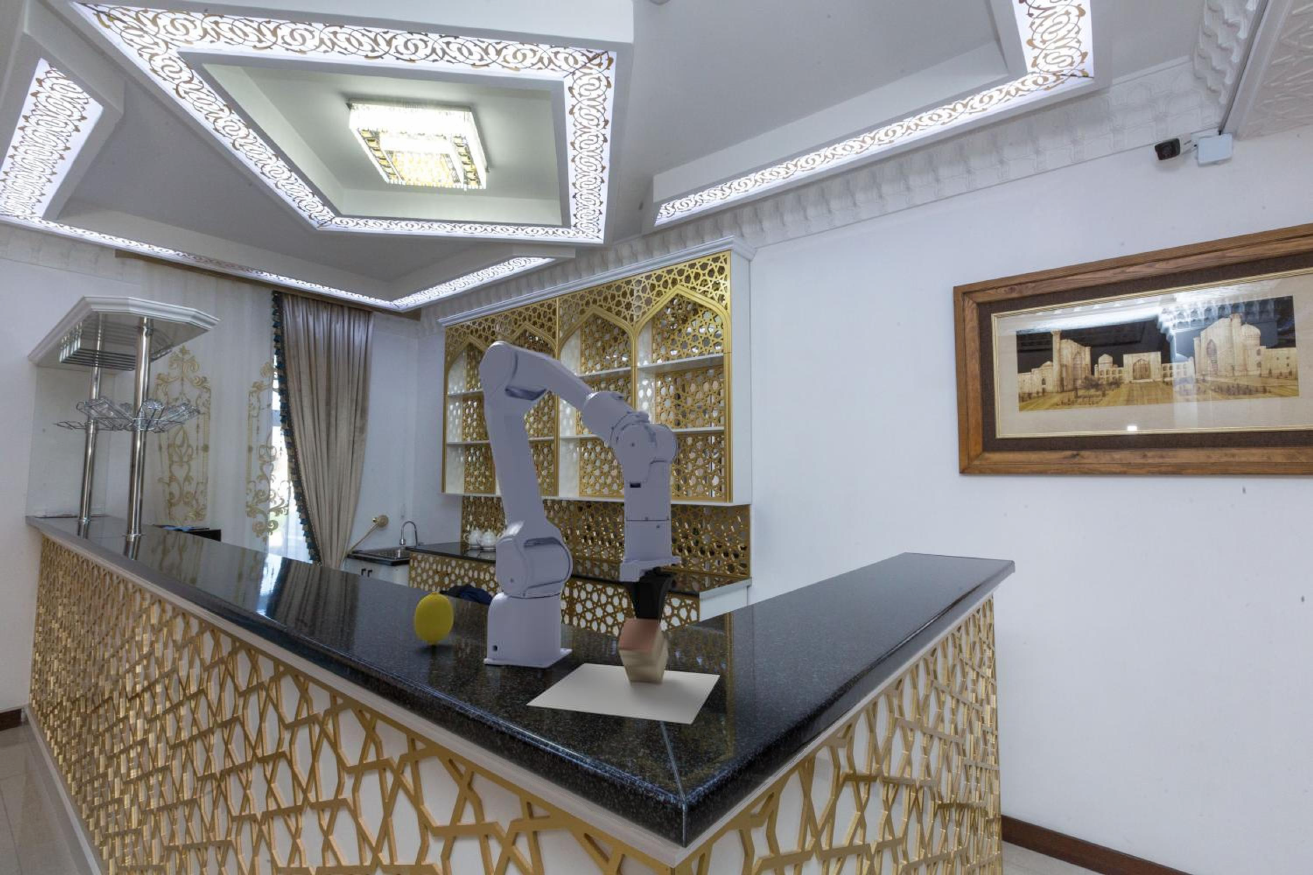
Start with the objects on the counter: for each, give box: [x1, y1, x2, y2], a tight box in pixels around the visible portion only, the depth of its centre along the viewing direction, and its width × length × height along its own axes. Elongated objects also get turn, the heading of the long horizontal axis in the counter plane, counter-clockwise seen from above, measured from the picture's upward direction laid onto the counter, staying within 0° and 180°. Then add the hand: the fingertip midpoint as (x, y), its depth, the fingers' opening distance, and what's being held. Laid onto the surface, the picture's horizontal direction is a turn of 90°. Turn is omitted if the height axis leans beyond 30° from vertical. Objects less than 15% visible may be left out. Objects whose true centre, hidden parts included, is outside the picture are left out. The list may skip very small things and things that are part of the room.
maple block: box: [616, 617, 669, 684], centre depth 67 cm, size 4×4×6 cm
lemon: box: [413, 591, 454, 645], centre depth 86 cm, size 6×6×8 cm
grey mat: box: [526, 662, 721, 725], centre depth 65 cm, size 18×15×1 cm
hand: (649, 633), depth 69 cm, fingers closed
